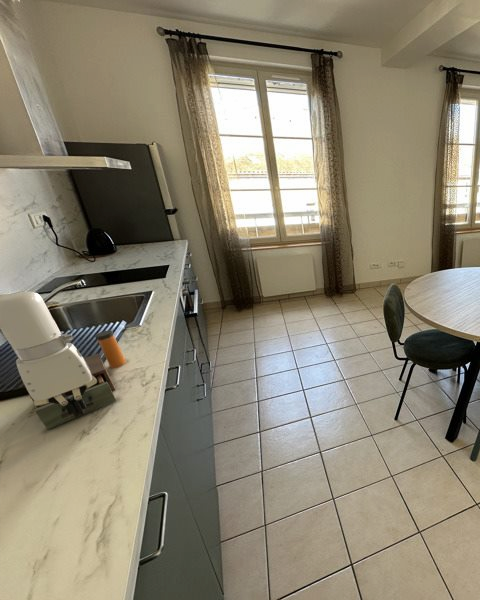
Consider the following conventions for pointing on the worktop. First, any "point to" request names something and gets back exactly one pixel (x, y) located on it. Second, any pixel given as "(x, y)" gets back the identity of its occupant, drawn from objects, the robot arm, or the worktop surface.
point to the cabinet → (96, 370)
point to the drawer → (92, 398)
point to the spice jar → (110, 348)
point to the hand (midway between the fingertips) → (79, 413)
